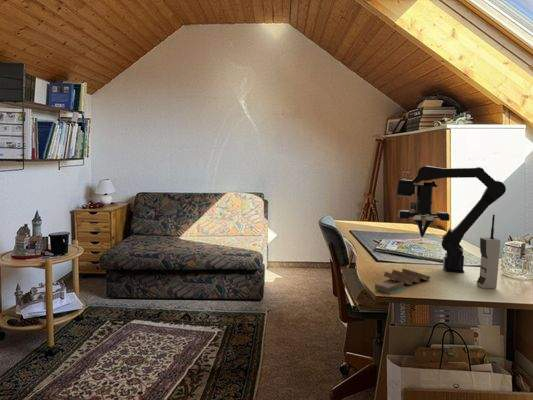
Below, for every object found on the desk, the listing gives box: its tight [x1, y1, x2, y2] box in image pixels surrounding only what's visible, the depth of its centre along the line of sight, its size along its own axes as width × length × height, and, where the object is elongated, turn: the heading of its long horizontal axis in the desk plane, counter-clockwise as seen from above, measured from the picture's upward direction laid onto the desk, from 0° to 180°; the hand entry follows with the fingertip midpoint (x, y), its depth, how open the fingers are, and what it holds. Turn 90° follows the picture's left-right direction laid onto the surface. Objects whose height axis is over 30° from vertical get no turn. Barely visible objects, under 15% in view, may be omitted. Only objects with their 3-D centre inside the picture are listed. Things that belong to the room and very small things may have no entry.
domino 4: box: [391, 269, 421, 284], centre depth 148 cm, size 2×5×9 cm
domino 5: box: [401, 268, 431, 282], centre depth 151 cm, size 2×5×9 cm
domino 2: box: [374, 278, 405, 294], centre depth 140 cm, size 2×5×9 cm
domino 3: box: [376, 286, 407, 295], centre depth 141 cm, size 2×5×9 cm
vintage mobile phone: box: [475, 214, 501, 289], centre depth 145 cm, size 4×5×25 cm
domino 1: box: [383, 271, 414, 286], centre depth 145 cm, size 2×5×9 cm
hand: (421, 236), depth 171 cm, fingers closed
